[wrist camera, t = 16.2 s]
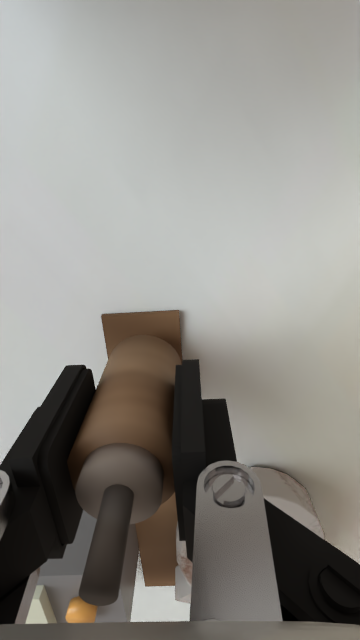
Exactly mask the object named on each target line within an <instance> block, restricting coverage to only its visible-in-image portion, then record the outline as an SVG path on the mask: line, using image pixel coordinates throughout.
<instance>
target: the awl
mask: <svg viewBox="0 0 360 640" xmlns="http://www.w3.org/2000/svg"><path fill="white" fill-rule="evenodd" d="M176 365H181V360H180V357H179V355H178V353H177V352H176V350H175V349H174V348H173V347H172V346H171V345H170V344H169V343H167V342H166V341H164V340H162V339H160V338H158V337H155V336H150V335H136V336H132V337H129V338H127V339H125V340H123V341H121V342H120V343H119V344H118V345H117V346H116V347H115V348H114V349H113V351H112V353H111V355H110V357H109V360H108V362H107V364H106V367H105V369H104V372H103V374H102V377H101V379H100V381H99V384H98V386H97V389H96V391H95V394H94V396H93V398H92V401H91V403H90V406H89V408H88V410H87V413H86V415H85V418H84V420H83V423H82V425H81V427H80V430H79V432H78V435H77V437H76V440H75V442H74V444H73V447H72V449H71V452H70V454H69V457H68V460H67V465H68V469H69V473H70V477H71V481H72V485H73V489H74V490H75V494H76V498H77V501H78V503H79V504H80V506H81V507H82V509H83V510H84V511H85V512H87V513H88V514H89V515H91V516H92V517H94V518H96V519H97V521H96V525H95V529H94V533H93V537H92V541H91V545H90V549H89V553H88V557H87V561H86V565H85V569H84V572H83V576H82V580H81V584H80V588H79V596H80V598H81V599H82V600H83V601H85V602H86V603H88V604H91V605H95V606H106V605H110V604H112V603H114V602H115V601H116V600H117V599H118V595H119V589H120V583H121V576H122V570H123V564H124V557H125V551H126V545H127V538H128V532H129V526H130V524H135V523H139V522H142V521H144V520H146V519H148V518H150V517H151V516H152V515H153V514H155V513H156V511H157V510H158V509H159V507H160V505H162V504H163V503H164V502H166V501H167V500H168V499H169V498H170V497H171V496H172V495H173V494H174V492H175V487H174V476H173V465H172V430H173V410H174V390H175V369H176Z"/></svg>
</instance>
